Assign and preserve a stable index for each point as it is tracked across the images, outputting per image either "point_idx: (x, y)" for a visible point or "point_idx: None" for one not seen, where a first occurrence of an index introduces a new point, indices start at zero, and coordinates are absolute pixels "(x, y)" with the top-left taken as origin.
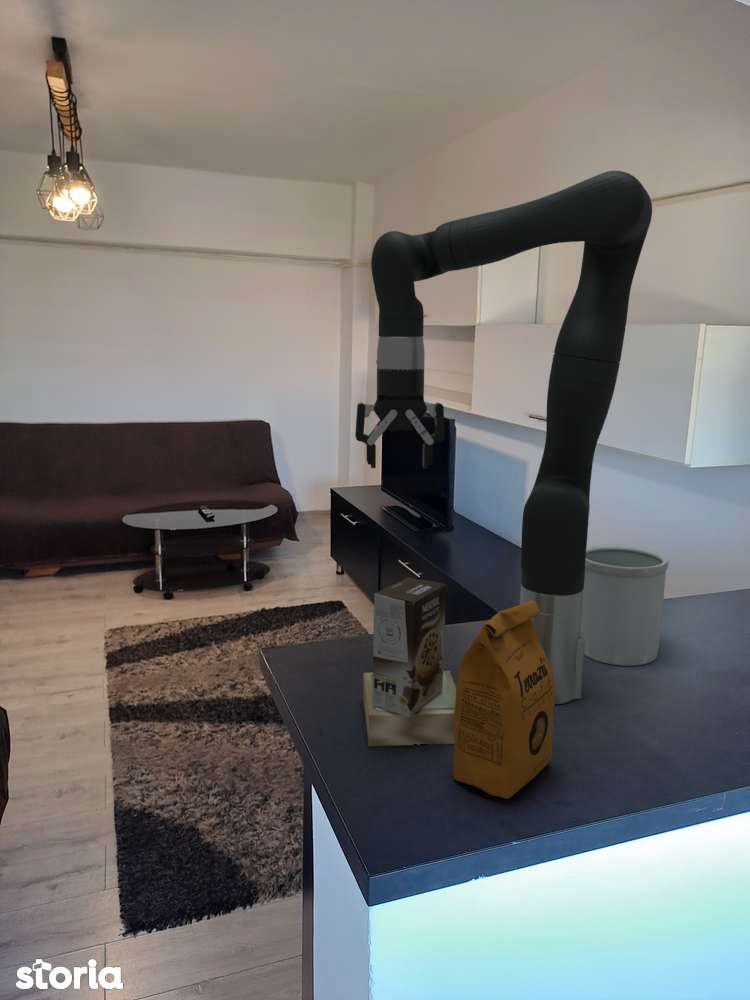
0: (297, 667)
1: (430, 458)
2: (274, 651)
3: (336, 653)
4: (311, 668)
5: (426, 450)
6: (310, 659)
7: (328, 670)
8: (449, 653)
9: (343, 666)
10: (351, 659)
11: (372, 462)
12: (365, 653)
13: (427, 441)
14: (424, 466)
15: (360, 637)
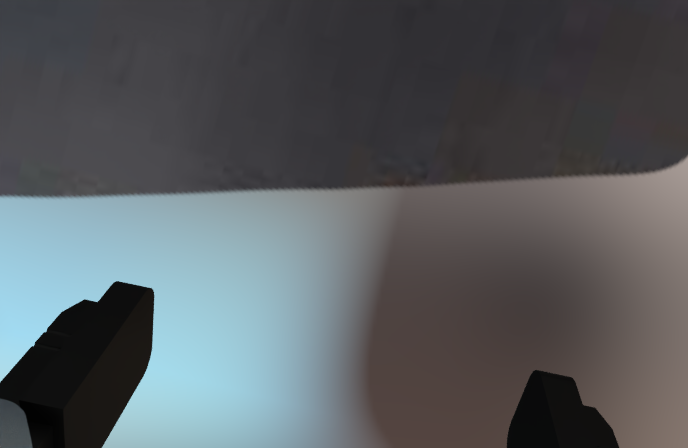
0: (659, 45)
1: (65, 331)
2: (680, 153)
3: (534, 104)
4: (627, 30)
5: (67, 369)
6: (610, 85)
7: (589, 7)
8: (256, 34)
9: (543, 22)
10: (509, 59)
11: (572, 400)
12: (463, 86)
13: (6, 431)
14: (145, 287)
15: (445, 181)
